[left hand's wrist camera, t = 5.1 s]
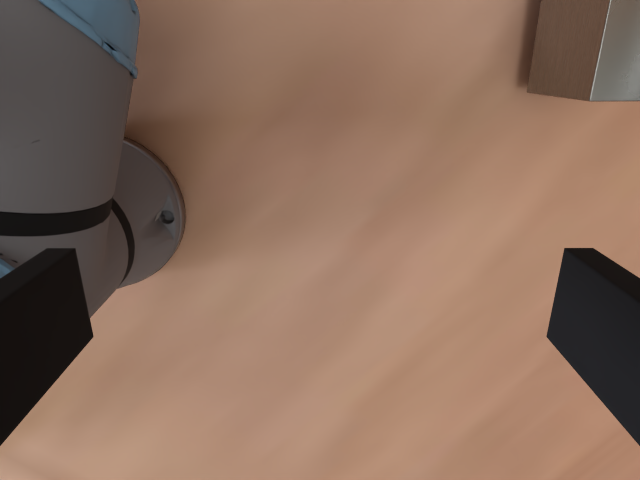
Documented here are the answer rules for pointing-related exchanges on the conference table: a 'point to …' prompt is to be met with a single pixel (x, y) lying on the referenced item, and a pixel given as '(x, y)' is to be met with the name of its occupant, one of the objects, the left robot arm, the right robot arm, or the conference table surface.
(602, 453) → the conference table surface
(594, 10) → the bar
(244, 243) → the conference table surface
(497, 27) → the conference table surface
